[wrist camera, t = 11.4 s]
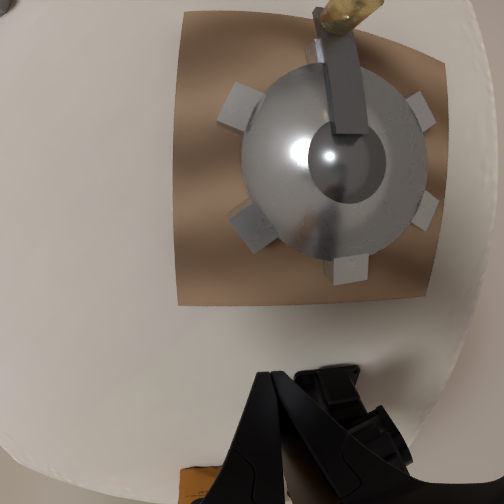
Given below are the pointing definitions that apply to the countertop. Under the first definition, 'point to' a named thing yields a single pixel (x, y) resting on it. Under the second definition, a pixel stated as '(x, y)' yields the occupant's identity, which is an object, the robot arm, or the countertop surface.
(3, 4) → the grey frame
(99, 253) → the countertop surface
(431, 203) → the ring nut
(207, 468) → the coffee package
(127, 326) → the countertop surface
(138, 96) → the countertop surface
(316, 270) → the walnut base
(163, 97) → the countertop surface
